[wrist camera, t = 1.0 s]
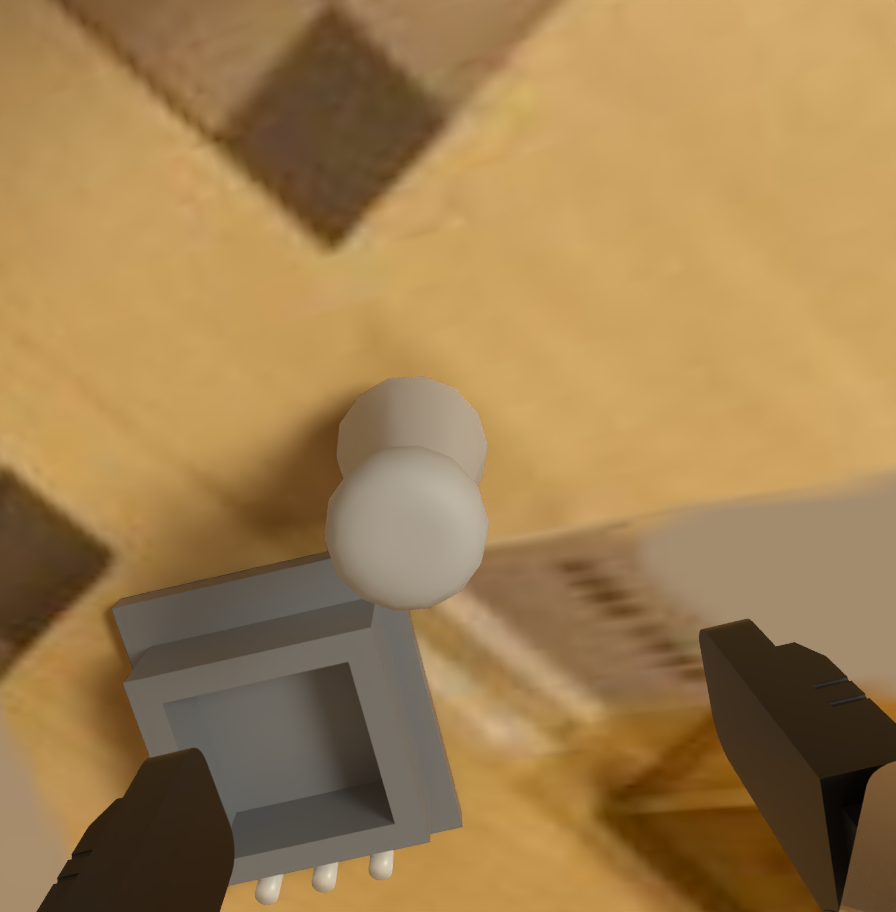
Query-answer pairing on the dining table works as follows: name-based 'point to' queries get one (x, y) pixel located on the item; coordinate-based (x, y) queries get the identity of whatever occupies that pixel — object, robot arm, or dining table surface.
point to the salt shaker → (408, 495)
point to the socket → (293, 716)
